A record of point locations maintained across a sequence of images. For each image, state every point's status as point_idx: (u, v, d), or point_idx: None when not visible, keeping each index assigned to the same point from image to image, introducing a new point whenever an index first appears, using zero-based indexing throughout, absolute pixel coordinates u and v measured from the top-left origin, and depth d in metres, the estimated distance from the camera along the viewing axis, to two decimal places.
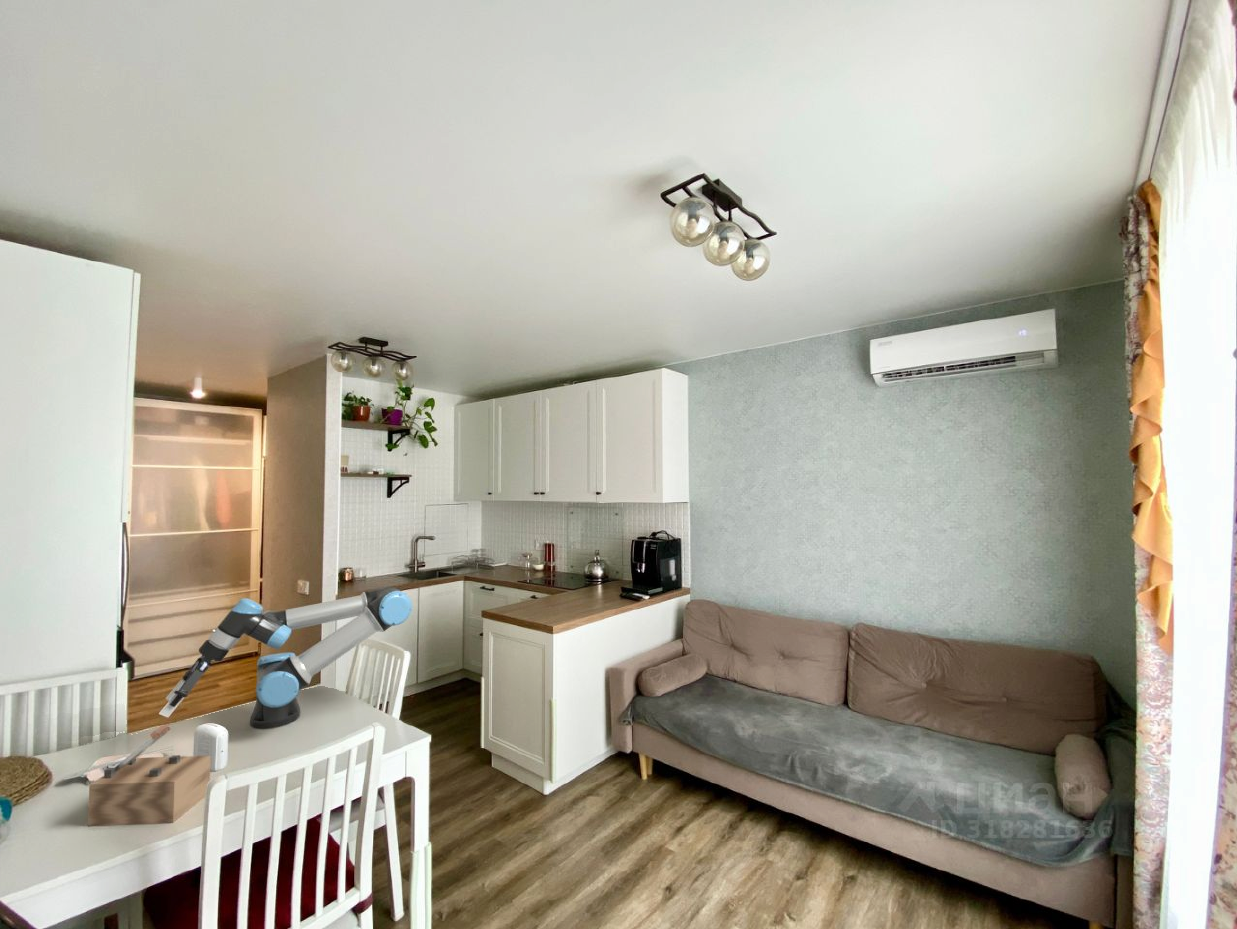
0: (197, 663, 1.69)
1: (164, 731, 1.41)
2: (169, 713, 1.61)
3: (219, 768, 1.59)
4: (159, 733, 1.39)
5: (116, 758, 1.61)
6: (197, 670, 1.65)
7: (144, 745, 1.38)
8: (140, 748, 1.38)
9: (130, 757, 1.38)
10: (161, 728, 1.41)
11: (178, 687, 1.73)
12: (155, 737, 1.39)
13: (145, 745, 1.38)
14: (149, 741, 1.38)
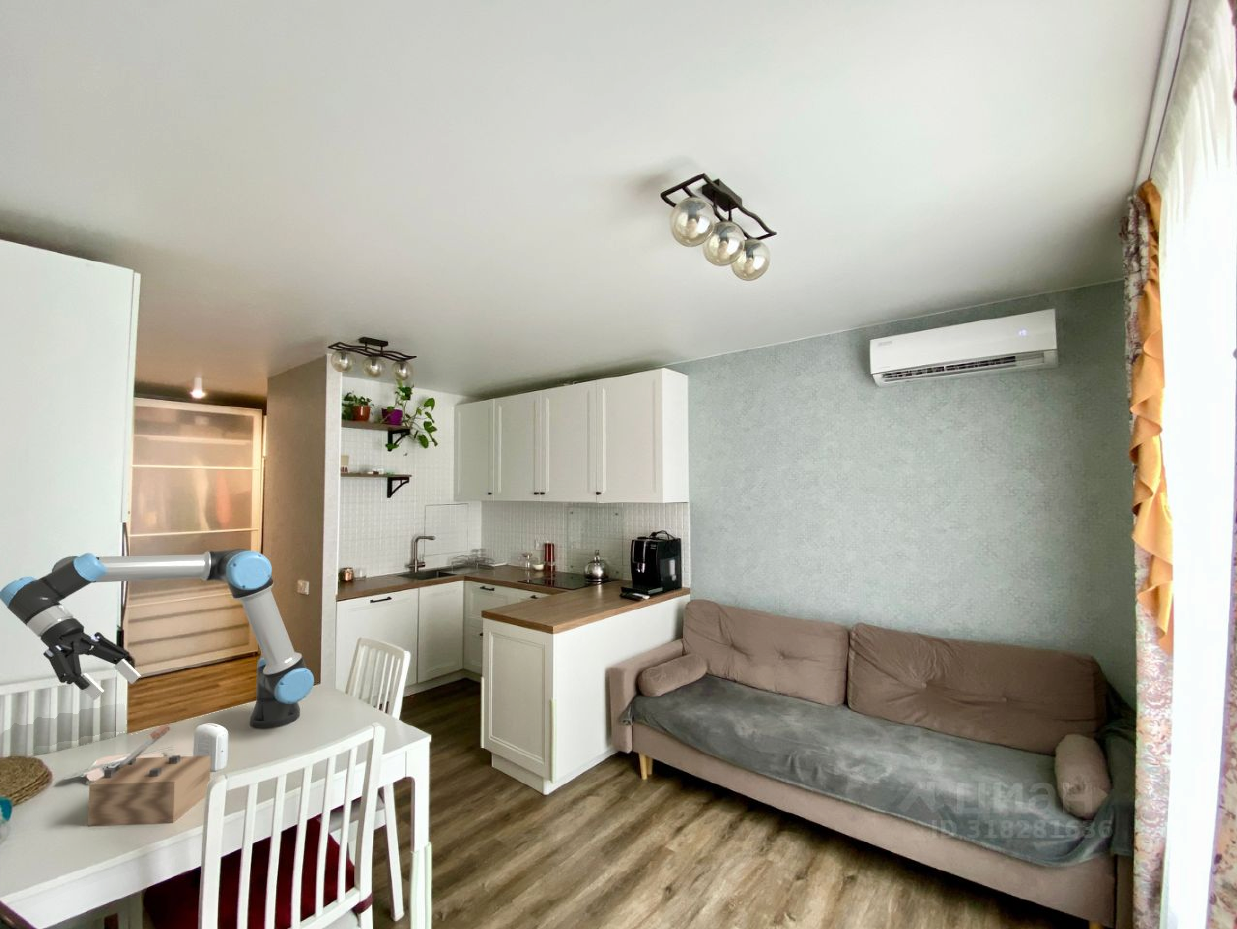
0: (63, 652, 1.38)
1: (164, 731, 1.41)
2: (97, 690, 1.35)
3: (219, 768, 1.59)
4: (159, 733, 1.39)
5: (116, 758, 1.61)
6: (50, 658, 1.33)
7: (144, 745, 1.38)
8: (140, 748, 1.38)
9: (130, 757, 1.38)
10: (161, 728, 1.41)
11: (122, 670, 1.45)
12: (155, 737, 1.39)
13: (145, 745, 1.38)
14: (149, 741, 1.38)
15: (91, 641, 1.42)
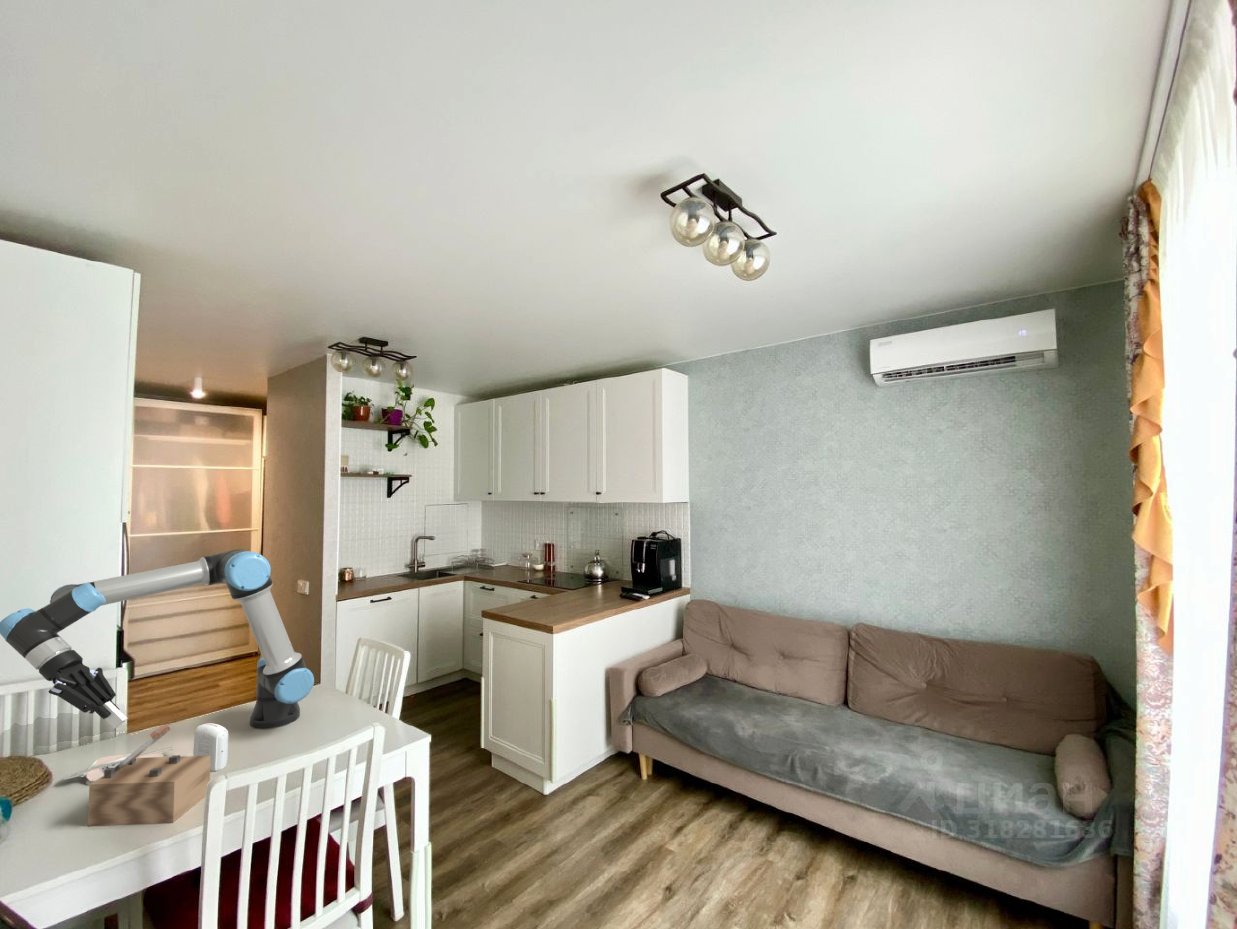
0: None
1: (164, 731, 1.41)
2: (118, 719, 1.39)
3: (219, 768, 1.59)
4: (159, 733, 1.39)
5: (116, 758, 1.61)
6: (59, 695, 1.34)
7: (144, 745, 1.38)
8: (140, 748, 1.38)
9: (130, 757, 1.38)
10: (161, 728, 1.41)
11: None
12: (155, 737, 1.39)
13: (145, 745, 1.38)
14: (149, 741, 1.38)
15: (87, 674, 1.41)
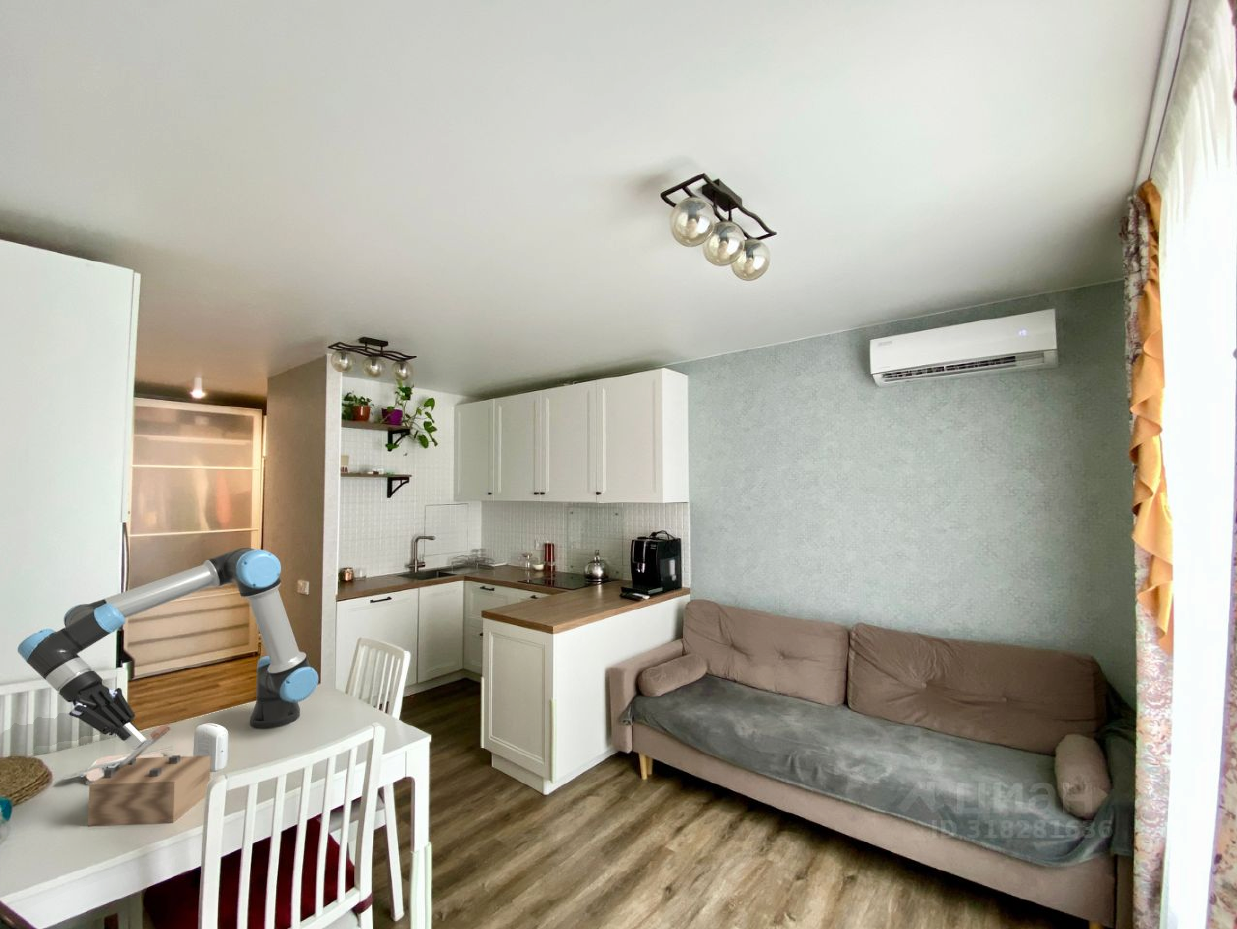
0: None
1: (164, 731, 1.41)
2: (138, 740, 1.39)
3: (219, 768, 1.59)
4: (159, 733, 1.39)
5: (115, 758, 1.61)
6: (80, 717, 1.34)
7: (144, 745, 1.38)
8: (140, 748, 1.38)
9: (130, 757, 1.38)
10: (161, 728, 1.41)
11: None
12: (155, 737, 1.39)
13: (145, 745, 1.38)
14: (149, 741, 1.38)
15: (107, 695, 1.41)
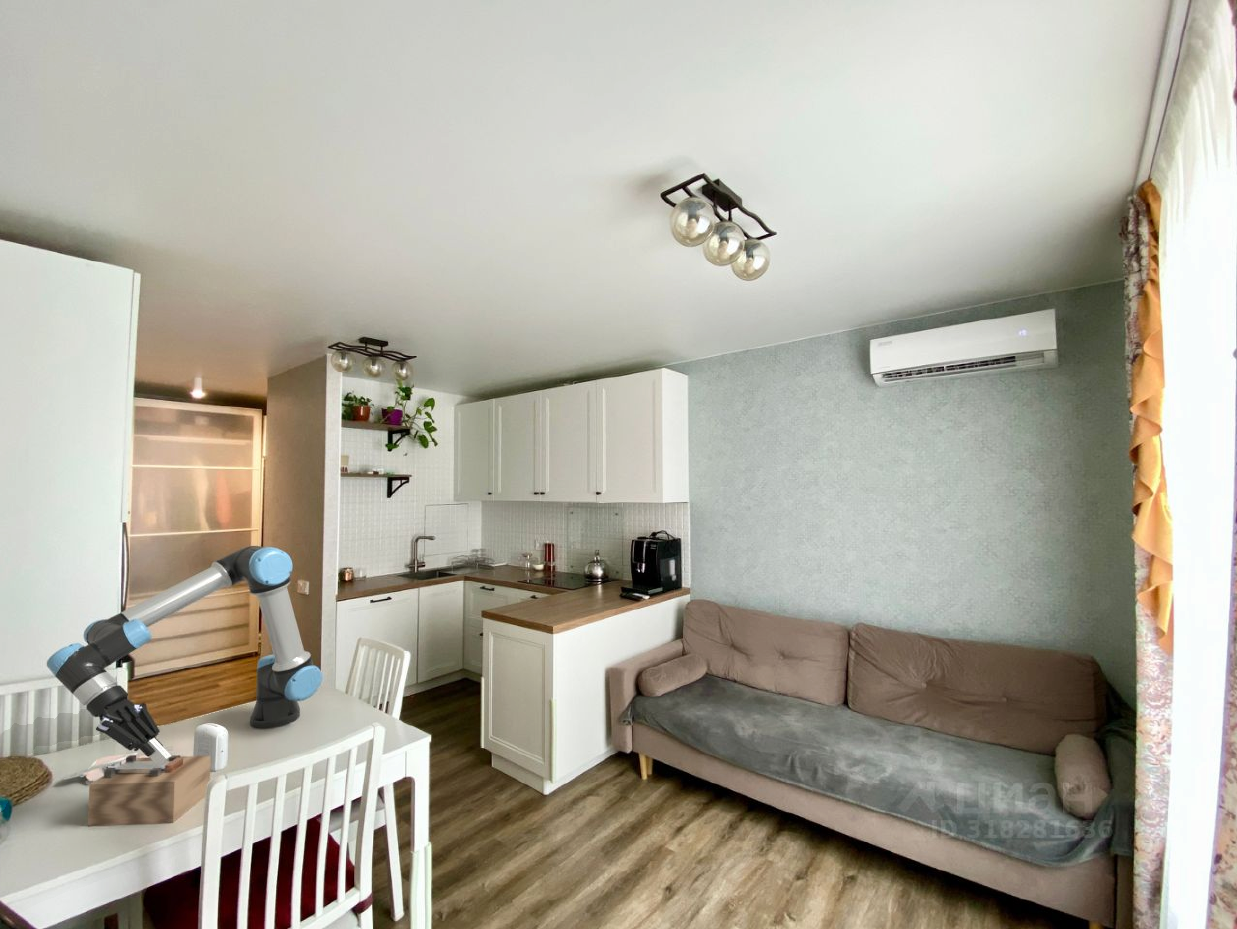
0: None
1: (177, 767, 1.41)
2: (162, 757, 1.39)
3: (219, 768, 1.59)
4: (173, 769, 1.39)
5: (115, 758, 1.61)
6: (106, 732, 1.35)
7: None
8: (149, 770, 1.38)
9: (136, 771, 1.38)
10: (177, 763, 1.41)
11: None
12: (167, 771, 1.38)
13: None
14: None
15: (133, 710, 1.41)
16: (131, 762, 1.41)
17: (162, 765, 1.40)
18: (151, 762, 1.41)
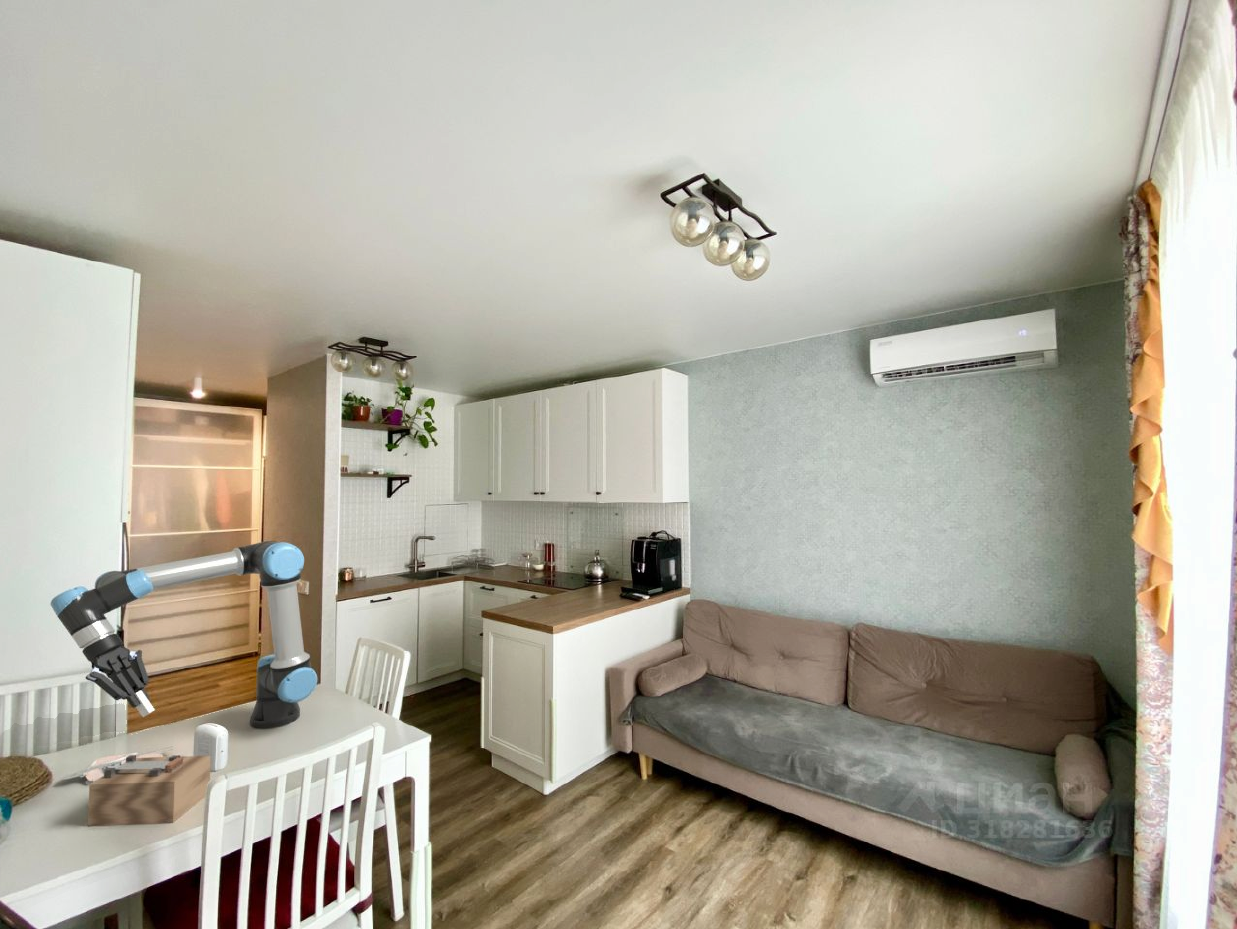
0: None
1: (177, 767, 1.41)
2: (145, 710, 1.45)
3: (219, 768, 1.59)
4: (173, 769, 1.39)
5: (115, 758, 1.61)
6: (95, 681, 1.40)
7: None
8: (149, 770, 1.38)
9: (136, 771, 1.38)
10: (177, 763, 1.41)
11: None
12: (167, 771, 1.38)
13: None
14: None
15: (125, 660, 1.46)
16: (131, 762, 1.41)
17: (162, 765, 1.40)
18: (151, 762, 1.41)
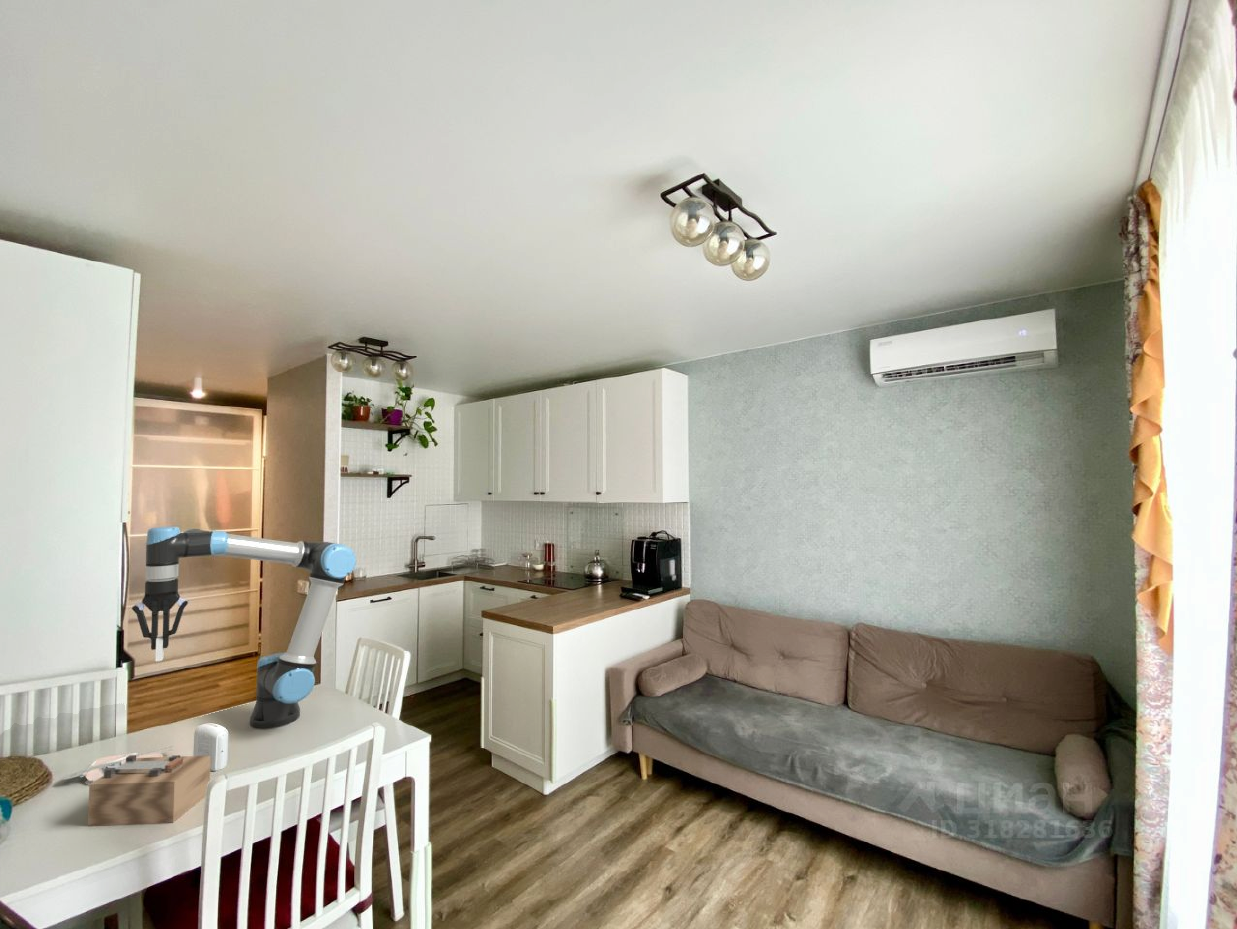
0: None
1: (177, 767, 1.41)
2: None
3: (219, 768, 1.59)
4: (173, 769, 1.39)
5: (115, 758, 1.61)
6: None
7: None
8: (149, 770, 1.38)
9: (136, 771, 1.38)
10: (177, 763, 1.41)
11: None
12: (167, 771, 1.38)
13: None
14: None
15: (166, 607, 1.59)
16: (131, 762, 1.41)
17: (162, 765, 1.40)
18: (151, 762, 1.41)
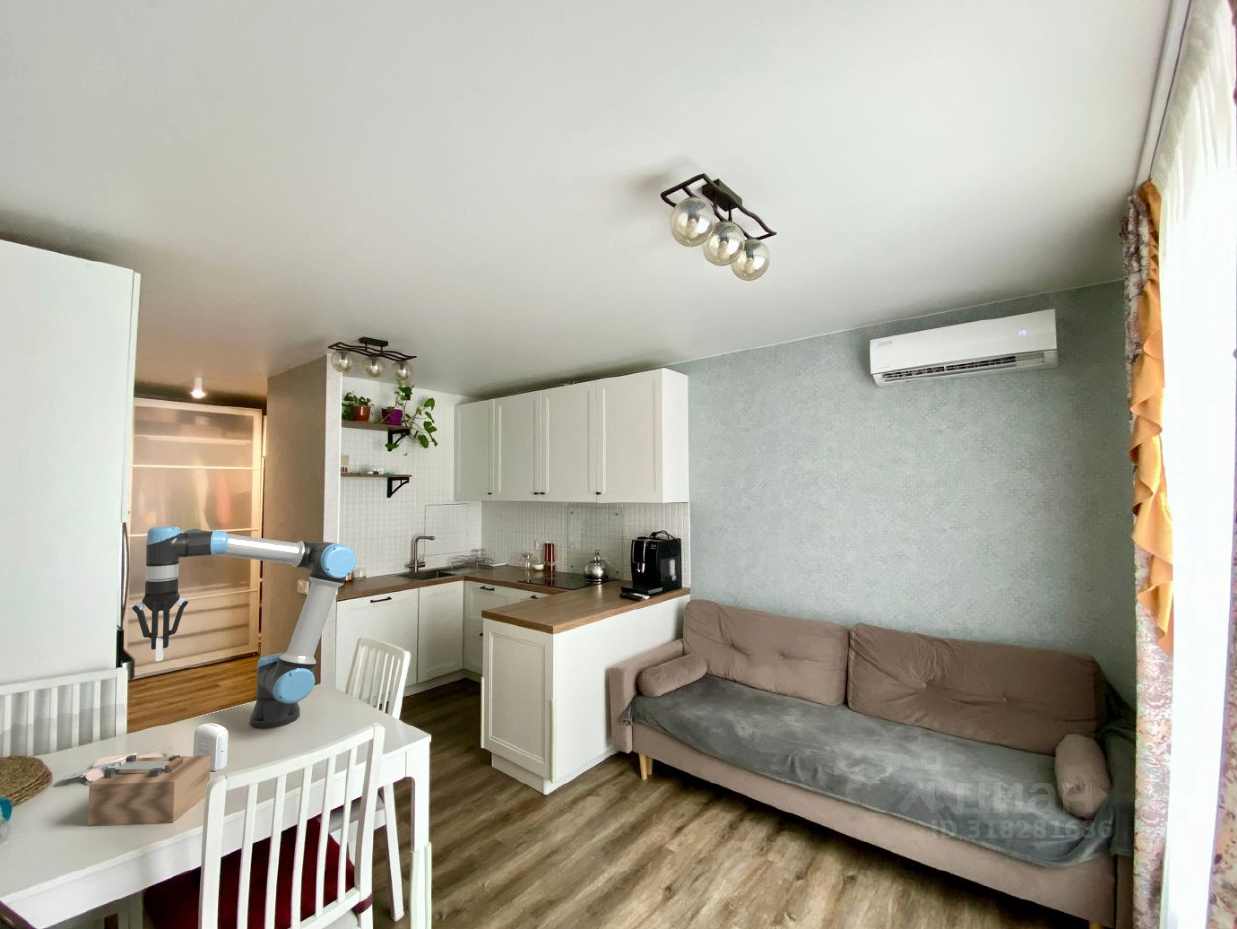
0: None
1: (177, 767, 1.41)
2: None
3: (219, 768, 1.59)
4: (173, 769, 1.39)
5: (115, 758, 1.61)
6: None
7: None
8: (149, 770, 1.38)
9: (136, 771, 1.38)
10: (177, 763, 1.41)
11: None
12: (167, 771, 1.38)
13: None
14: None
15: (166, 607, 1.59)
16: (131, 762, 1.41)
17: (162, 765, 1.40)
18: (151, 762, 1.41)
